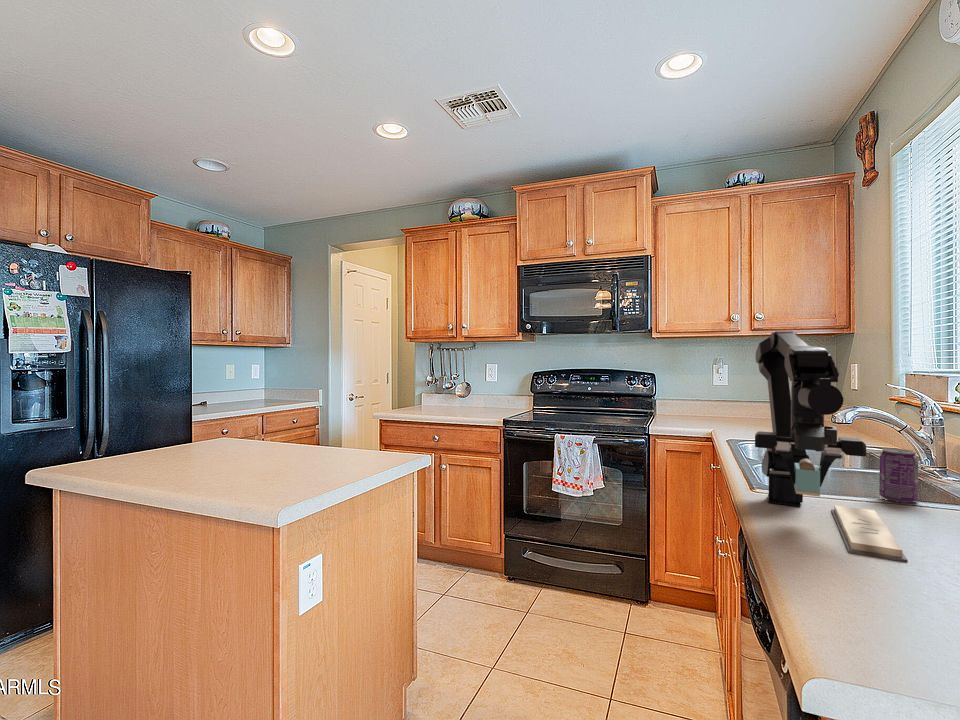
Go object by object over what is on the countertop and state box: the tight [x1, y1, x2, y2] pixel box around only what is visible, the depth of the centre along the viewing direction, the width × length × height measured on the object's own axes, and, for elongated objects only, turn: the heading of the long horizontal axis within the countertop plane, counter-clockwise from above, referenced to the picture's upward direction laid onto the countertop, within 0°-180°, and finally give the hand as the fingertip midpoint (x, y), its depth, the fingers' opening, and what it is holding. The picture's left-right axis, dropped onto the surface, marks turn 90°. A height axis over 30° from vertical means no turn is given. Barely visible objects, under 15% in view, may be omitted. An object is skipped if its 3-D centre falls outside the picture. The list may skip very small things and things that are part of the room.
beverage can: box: [878, 447, 919, 503], centre depth 119 cm, size 7×7×12 cm
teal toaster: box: [794, 458, 821, 497], centre depth 101 cm, size 4×7×6 cm, turn 150°
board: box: [831, 504, 908, 563], centre depth 97 cm, size 8×27×2 cm, turn 150°
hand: (806, 484), depth 101 cm, fingers closed on teal toaster, 4 cm apart
